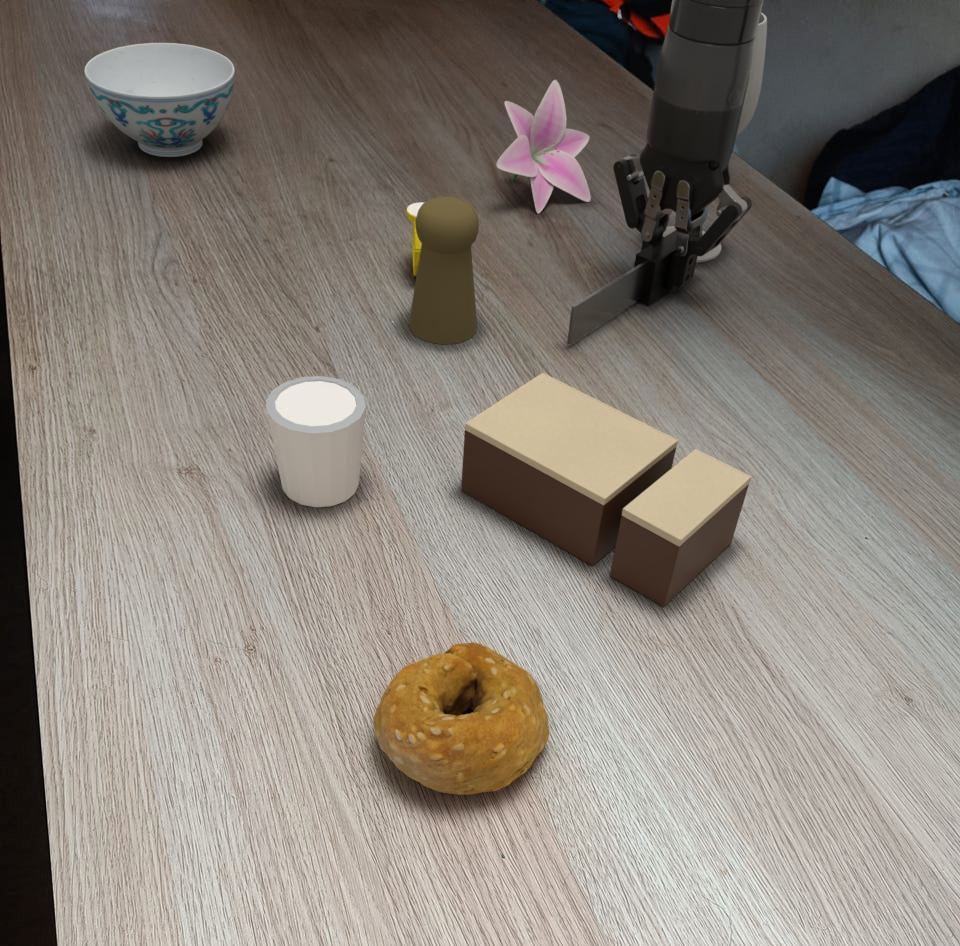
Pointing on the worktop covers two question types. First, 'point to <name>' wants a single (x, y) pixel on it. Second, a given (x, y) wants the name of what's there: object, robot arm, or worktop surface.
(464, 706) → the bagel
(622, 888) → the worktop surface
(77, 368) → the worktop surface
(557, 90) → the lily
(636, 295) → the knife
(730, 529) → the cake slice
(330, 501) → the cup of milk
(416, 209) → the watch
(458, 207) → the chess pawn piece
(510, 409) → the cake loaf
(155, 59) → the chinaware
